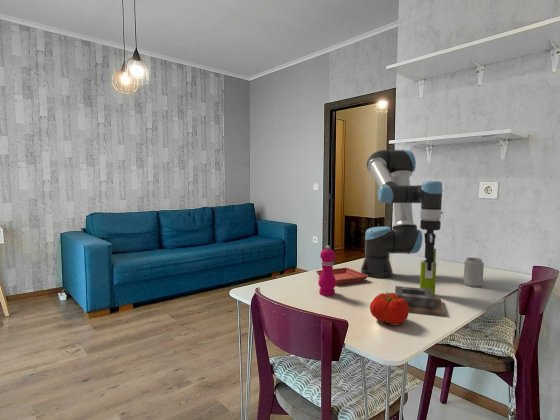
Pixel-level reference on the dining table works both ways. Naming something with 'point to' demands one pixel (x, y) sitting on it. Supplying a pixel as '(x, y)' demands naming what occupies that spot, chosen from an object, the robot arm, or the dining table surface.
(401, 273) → the dining table surface
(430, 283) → the vape
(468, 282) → the can
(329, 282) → the pepper mill
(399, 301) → the tomato
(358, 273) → the plant saucer
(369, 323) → the dining table surface
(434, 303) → the charging dock
